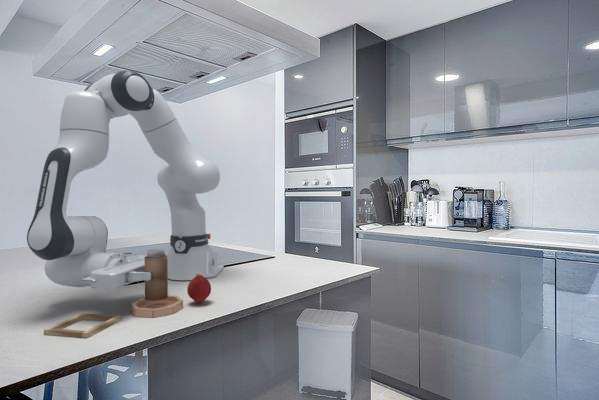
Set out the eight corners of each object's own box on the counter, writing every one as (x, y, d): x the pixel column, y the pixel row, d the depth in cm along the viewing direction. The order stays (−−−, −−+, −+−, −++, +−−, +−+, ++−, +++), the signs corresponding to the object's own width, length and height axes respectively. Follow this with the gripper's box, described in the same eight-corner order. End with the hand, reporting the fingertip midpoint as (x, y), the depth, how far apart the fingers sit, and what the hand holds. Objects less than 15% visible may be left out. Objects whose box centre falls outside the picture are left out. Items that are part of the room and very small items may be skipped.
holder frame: (82, 317, 82) (82, 313, 82) (121, 320, 80) (121, 315, 80) (43, 334, 72) (43, 329, 72) (86, 338, 70) (86, 333, 70)
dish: (150, 301, 94) (150, 294, 94) (189, 303, 92) (189, 296, 92) (122, 315, 83) (122, 308, 83) (165, 318, 81) (165, 310, 81)
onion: (213, 299, 95) (212, 269, 94) (208, 306, 89) (207, 275, 89) (191, 300, 94) (190, 270, 94) (184, 307, 89) (184, 275, 88)
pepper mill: (153, 293, 90) (152, 248, 90) (171, 295, 89) (171, 249, 89) (140, 299, 85) (139, 251, 85) (160, 301, 84) (159, 252, 84)
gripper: (75, 266, 79) (131, 269, 76) (134, 251, 99) (180, 253, 96) (76, 294, 79) (132, 298, 76) (135, 274, 99) (180, 276, 97)
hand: (159, 273), depth 87 cm, fingers closed on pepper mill, 5 cm apart
